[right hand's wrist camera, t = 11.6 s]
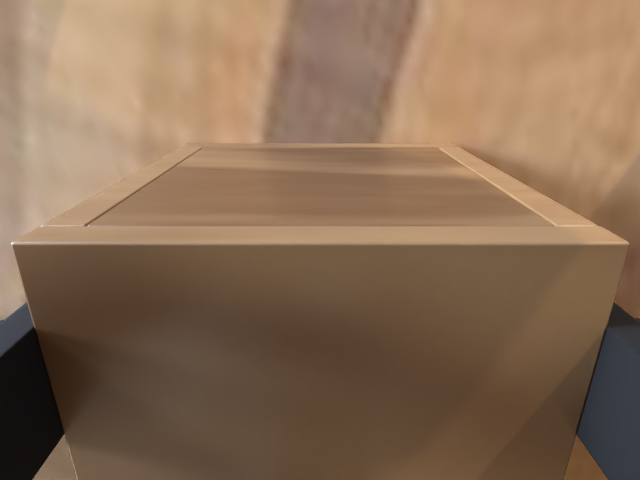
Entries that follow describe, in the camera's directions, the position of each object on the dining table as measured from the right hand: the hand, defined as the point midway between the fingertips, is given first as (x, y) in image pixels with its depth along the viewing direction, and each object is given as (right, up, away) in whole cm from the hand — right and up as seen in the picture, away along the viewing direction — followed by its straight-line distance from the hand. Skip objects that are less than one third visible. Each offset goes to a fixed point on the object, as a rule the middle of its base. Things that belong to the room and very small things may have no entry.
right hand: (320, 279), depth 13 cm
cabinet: (0, -3, +8) cm, 9 cm away
